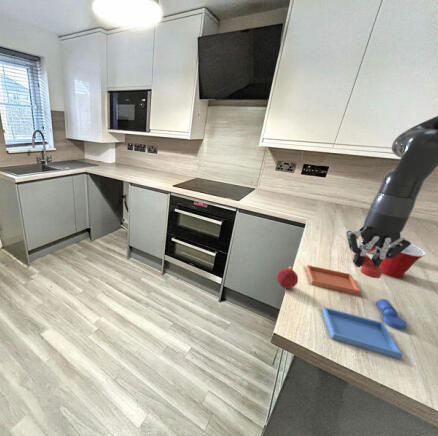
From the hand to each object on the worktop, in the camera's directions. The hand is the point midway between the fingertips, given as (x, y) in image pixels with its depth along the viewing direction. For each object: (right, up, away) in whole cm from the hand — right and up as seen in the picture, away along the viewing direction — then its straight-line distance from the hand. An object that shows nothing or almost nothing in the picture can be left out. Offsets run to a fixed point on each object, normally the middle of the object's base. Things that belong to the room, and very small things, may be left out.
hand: (364, 266), depth 67 cm
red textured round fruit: (-17, -9, +10) cm, 22 cm away
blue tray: (-8, -16, -6) cm, 19 cm away
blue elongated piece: (+6, -14, 0) cm, 15 cm away
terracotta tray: (+1, -8, +14) cm, 16 cm away
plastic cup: (+27, -7, +19) cm, 34 cm away
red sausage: (0, 0, 0) cm, 0 cm away
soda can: (+34, -1, +35) cm, 48 cm away
